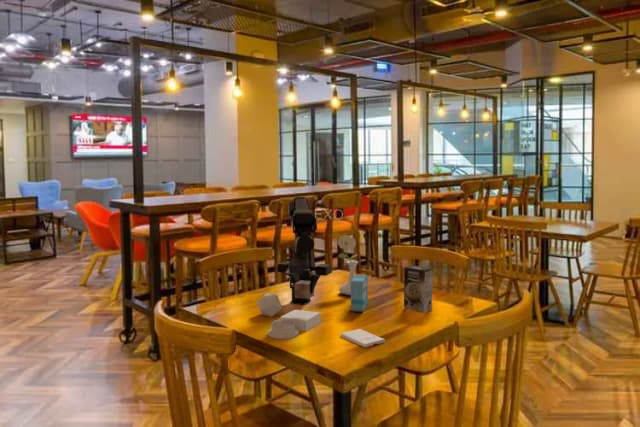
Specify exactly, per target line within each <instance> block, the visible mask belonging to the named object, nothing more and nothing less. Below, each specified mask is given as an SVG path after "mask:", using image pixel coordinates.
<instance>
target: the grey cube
mask: <svg viewBox="0 0 640 427" xmlns="http://www.w3.org/2000/svg"><path fill="white" fill-rule="evenodd" d="M314 296H315V290H314V291H313V293H312V294H311V293H310V281H303V280H301V281H298V282H296V283H295V298H304V299H309V298H310V299H311V298H312V297H314Z"/></svg>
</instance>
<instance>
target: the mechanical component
mask: <svg viewBox="0 0 640 427" xmlns="http://www.w3.org/2000/svg"><path fill="white" fill-rule="evenodd" d="M299 331H300V330H298V329H297V328H295V323H294V321H292V320H290V319H289V320H288V319H281V318H280V319H276V320H274V321H272V323H271V328H270V329H268V331H267V333H268V334H267V335H268V336H269V337H270V338H272V339H278V340H288V339H294V338H296V337H298V336H299V333H300V332H299Z"/></svg>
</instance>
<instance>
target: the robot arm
mask: <svg viewBox="0 0 640 427" xmlns="http://www.w3.org/2000/svg"><path fill="white" fill-rule="evenodd" d="M311 207H312V206H311V202H310V201H308V196H307V197H306V196H295V197H293V199H292V201H290V202H288V217H290V222H291V226H292V228H291V229H292V234H294V252H293V257H292V258H291V259H290V260H289V261H282V262H279V263H278V264H277V265H276V273H282V274H283V273H285V275H286V276H288V277H289V288H290V289H291V300H290V302H289V303H290V304H295V305H296V304H297V305H307V304H308V303H310V302H311V301H312V300H311V298H309V299H304V298H295V283H296V282H298V281H301V280H303V281H310V293H311V294H312V293H313V291H314V292H315V288H316V286H317V284H318V281H319V279H320V277H321V276H325V277H326V276H328V275H330V274H333V267H332V264H327V263H326V264H325V263H324V264H323V263H320V264H319V265H316V266H314V265H315V263H314V261H313V254H315V253H314V250H313V249H315V248H314V247H315V241H314V239H313V235H312V234H313V233H314V234H315V233H317V232H316V231H317V230H318V225H317V218H316V215H315V214H313V211H312V208H311Z"/></svg>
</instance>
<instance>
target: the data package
mask: <svg viewBox="0 0 640 427" xmlns="http://www.w3.org/2000/svg"><path fill="white" fill-rule="evenodd" d="M368 279H369V278H368V275H365V274H364V275H362V274H355V277H354V278H353V279H352V280H351V295H350V311H351V312H355V313H364V311H365V310H366V308H367V306H368V301H369V300H368V299H369V298H368V293H369V292H368V290H369V289H368V285H369V284H368V282H369V281H368Z"/></svg>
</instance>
